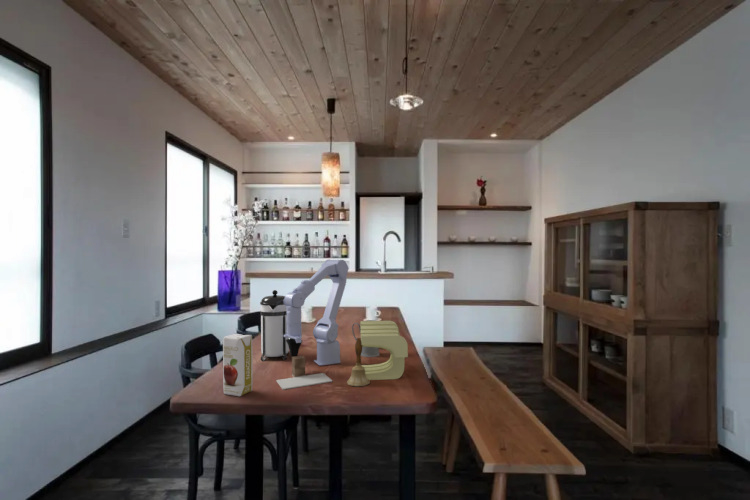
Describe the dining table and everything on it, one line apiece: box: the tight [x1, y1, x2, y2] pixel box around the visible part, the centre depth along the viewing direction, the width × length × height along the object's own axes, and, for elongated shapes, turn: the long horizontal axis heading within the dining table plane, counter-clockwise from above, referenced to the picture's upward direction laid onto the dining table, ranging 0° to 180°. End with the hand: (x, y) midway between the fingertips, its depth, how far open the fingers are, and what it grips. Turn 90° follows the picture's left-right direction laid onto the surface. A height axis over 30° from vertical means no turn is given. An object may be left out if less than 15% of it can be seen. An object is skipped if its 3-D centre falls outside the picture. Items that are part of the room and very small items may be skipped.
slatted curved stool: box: [359, 320, 409, 381], centre depth 151 cm, size 30×16×18 cm, turn 3°
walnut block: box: [291, 355, 306, 378], centre depth 150 cm, size 4×4×7 cm
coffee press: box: [259, 289, 290, 361], centre depth 178 cm, size 17×16×30 cm
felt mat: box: [275, 372, 333, 390], centre depth 143 cm, size 18×10×1 cm, turn 117°
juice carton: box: [222, 333, 254, 397], centre depth 132 cm, size 8×9×19 cm
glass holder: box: [351, 319, 381, 358], centre depth 181 cm, size 9×14×15 cm, turn 58°
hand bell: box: [346, 337, 371, 387], centre depth 141 cm, size 8×8×16 cm
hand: (294, 357), depth 155 cm, fingers closed
